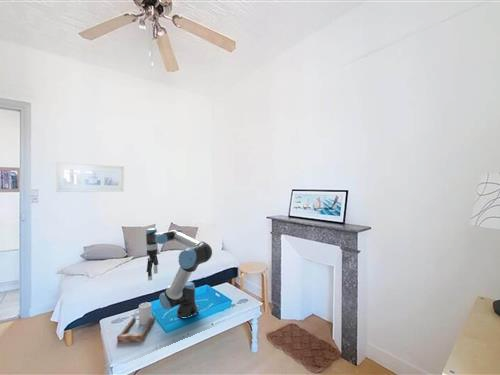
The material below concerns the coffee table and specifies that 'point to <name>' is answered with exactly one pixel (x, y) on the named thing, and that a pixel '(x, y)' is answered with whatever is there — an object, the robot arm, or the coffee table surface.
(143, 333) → the guide
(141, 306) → the mug
